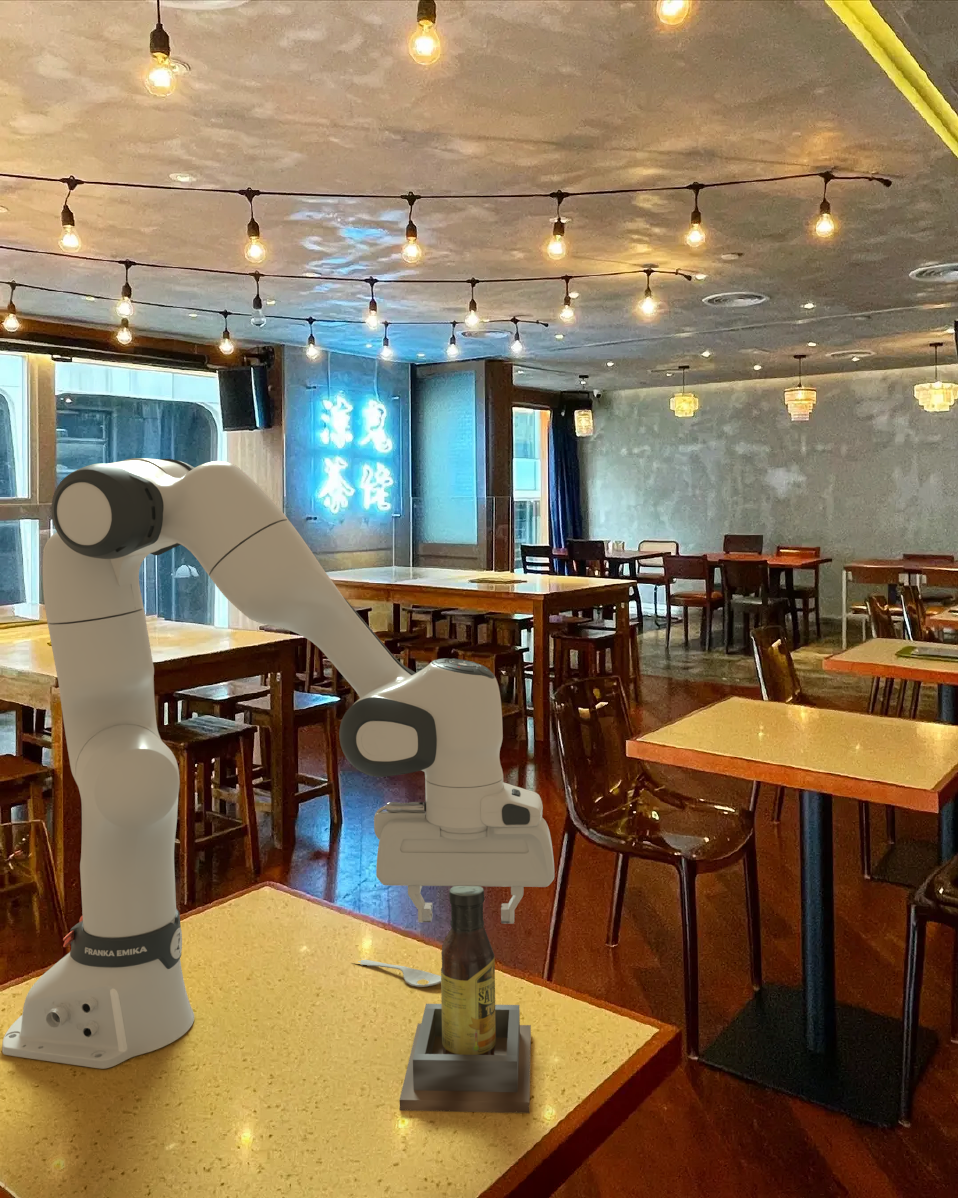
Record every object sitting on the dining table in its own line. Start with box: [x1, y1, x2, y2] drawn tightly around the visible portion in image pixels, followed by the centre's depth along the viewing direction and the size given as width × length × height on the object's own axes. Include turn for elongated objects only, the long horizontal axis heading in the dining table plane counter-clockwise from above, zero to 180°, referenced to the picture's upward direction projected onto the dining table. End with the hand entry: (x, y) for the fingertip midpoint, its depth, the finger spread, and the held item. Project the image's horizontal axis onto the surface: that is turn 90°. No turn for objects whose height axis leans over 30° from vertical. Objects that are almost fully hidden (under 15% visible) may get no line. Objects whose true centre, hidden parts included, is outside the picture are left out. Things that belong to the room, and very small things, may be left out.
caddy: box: [398, 1003, 532, 1114], centre depth 113 cm, size 14×16×5 cm
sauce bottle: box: [440, 886, 496, 1055], centre depth 113 cm, size 6×6×20 cm
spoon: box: [358, 959, 441, 988], centre depth 138 cm, size 4×21×2 cm, turn 56°
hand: (466, 921), depth 111 cm, fingers open, 8 cm apart
